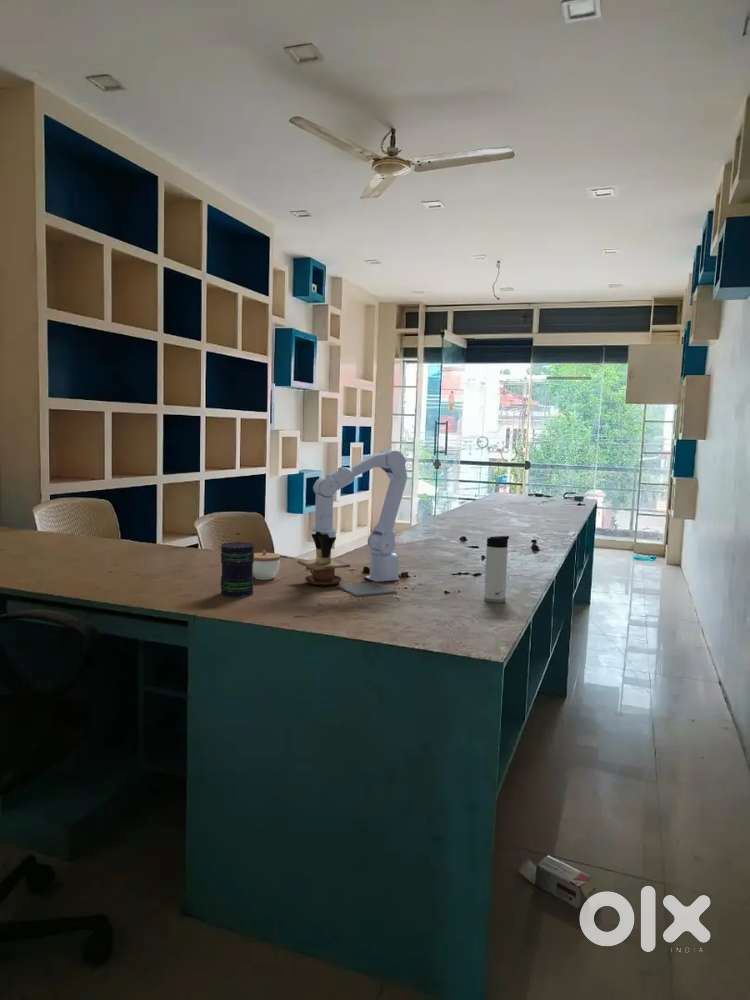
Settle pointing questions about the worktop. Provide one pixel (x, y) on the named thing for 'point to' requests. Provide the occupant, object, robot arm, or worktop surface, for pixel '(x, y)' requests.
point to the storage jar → (237, 569)
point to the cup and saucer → (323, 577)
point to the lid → (323, 562)
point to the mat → (366, 589)
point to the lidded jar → (265, 565)
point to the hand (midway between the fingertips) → (323, 556)
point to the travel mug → (496, 569)
